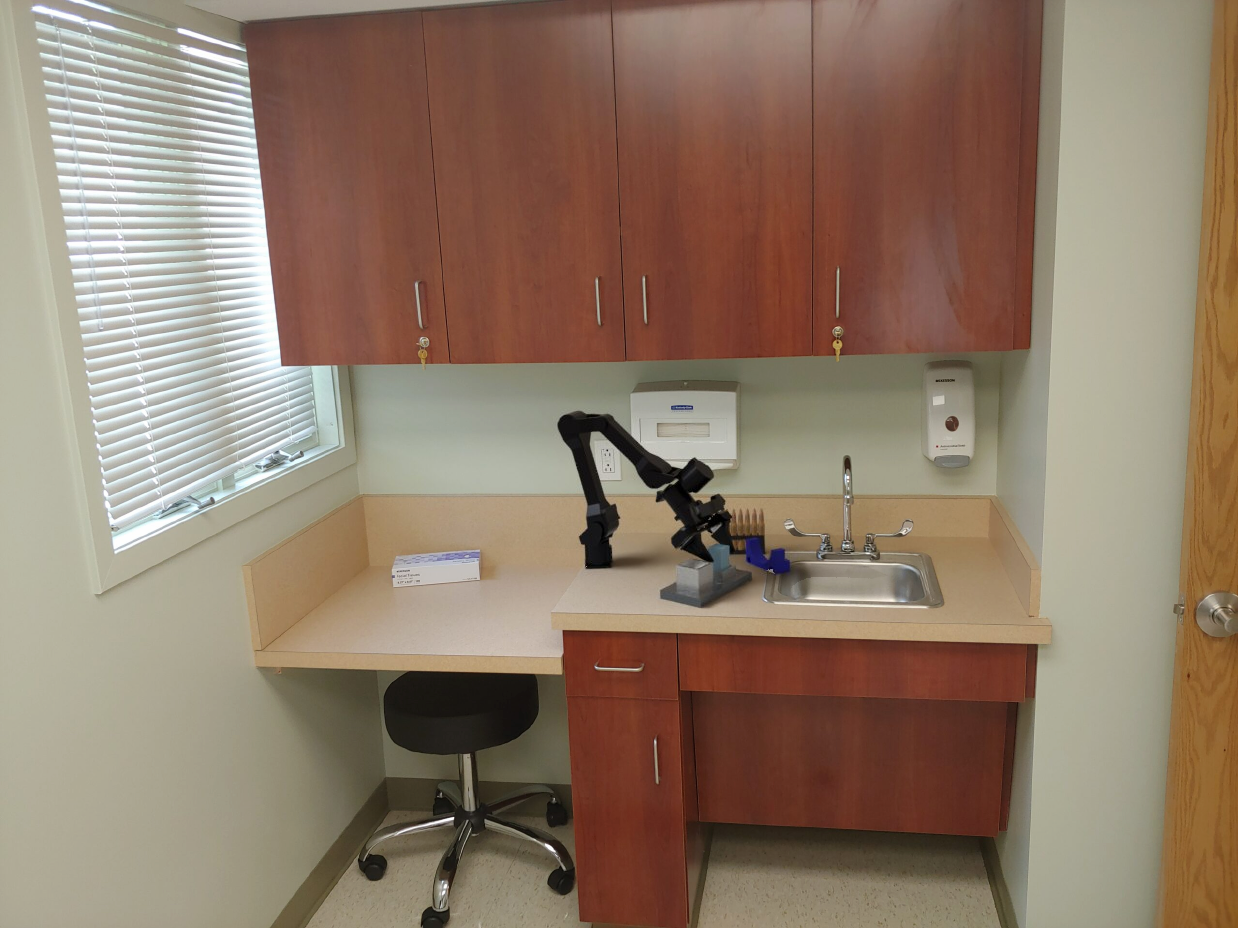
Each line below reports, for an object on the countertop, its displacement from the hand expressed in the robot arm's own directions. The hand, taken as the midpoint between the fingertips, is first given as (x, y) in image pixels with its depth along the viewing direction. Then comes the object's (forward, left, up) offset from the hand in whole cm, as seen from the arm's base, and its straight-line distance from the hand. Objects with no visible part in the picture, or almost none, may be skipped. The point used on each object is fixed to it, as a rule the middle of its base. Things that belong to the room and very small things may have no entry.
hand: (723, 557), depth 229 cm
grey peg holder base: (-4, -3, -7) cm, 8 cm away
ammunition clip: (+9, +23, -7) cm, 25 cm away
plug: (-1, +1, -5) cm, 5 cm away
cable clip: (+13, +12, -7) cm, 18 cm away
